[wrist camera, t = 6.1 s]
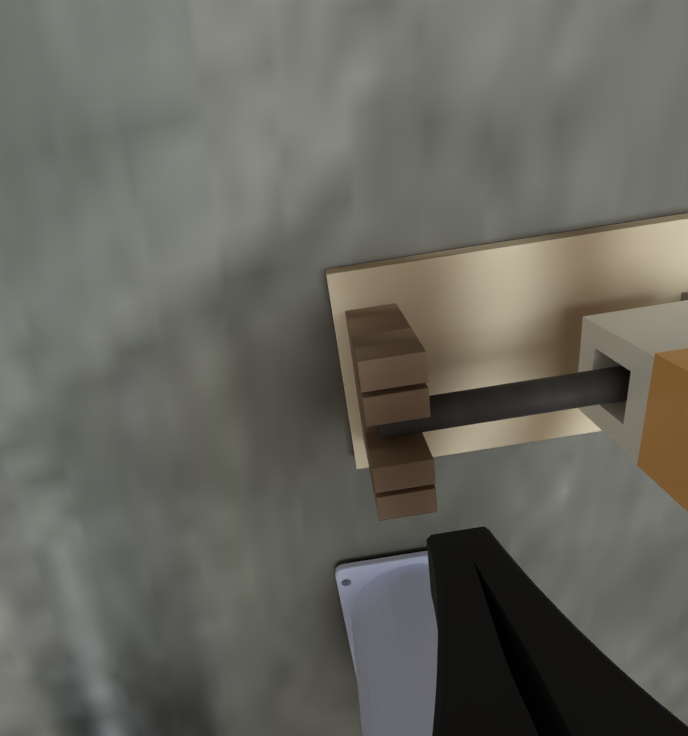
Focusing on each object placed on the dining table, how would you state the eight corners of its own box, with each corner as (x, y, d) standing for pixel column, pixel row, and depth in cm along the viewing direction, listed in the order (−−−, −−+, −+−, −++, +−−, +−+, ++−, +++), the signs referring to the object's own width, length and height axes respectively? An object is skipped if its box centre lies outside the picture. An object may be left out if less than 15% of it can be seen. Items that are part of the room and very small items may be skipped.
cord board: (354, 456, 22) (371, 561, 16) (325, 269, 18) (332, 318, 12) (727, 397, 22) (876, 481, 16) (774, 199, 18) (992, 215, 12)
